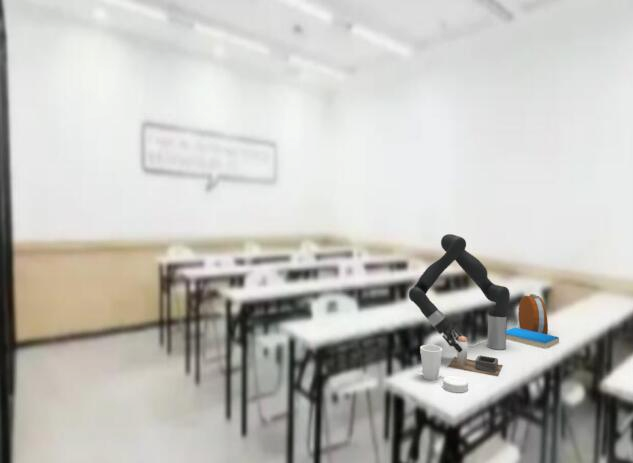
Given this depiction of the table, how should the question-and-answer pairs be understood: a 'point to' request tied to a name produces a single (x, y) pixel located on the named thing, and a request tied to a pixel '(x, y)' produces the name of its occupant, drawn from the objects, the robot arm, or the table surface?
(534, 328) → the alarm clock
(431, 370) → the foam cup
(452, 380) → the coaster
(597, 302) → the table surface
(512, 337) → the book
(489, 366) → the jig board
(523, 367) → the table surface
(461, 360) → the orange-capped post
